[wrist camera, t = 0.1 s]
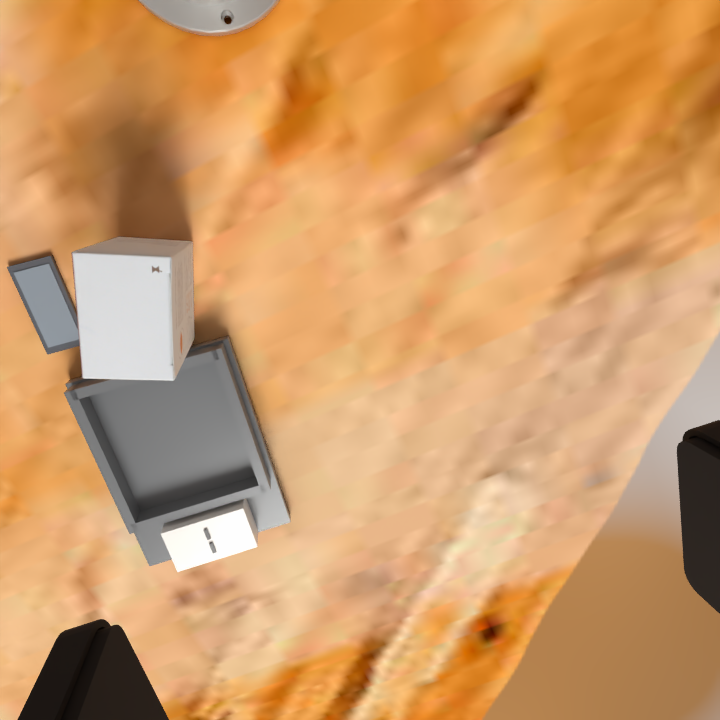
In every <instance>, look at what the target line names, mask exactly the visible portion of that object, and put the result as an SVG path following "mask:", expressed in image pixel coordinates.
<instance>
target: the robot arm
mask: <svg viewBox="0 0 720 720" xmlns="http://www.w3.org/2000/svg"><path fill="white" fill-rule="evenodd" d="M138 1H139V2H140V3H141V4H142V5H143V6H144V7H145V8H146V9H147V10H148V11H149V12H151V13H152V14H154V15H155V16H157V17H158V18H160V19H161V20H162V21H164V22H165V23H167V24H169V25H171V26H174V27H176V28H178V29H180V30H182V31H185V32H189V33H193V34H197V35H202V36H223V35H229V34H234V33H238V32H240V31H242V30H245V29H247V28H250V27H252V26H253V25H255V24H256V23H258V22H259V21H260V20H262V19H263V18H265V17H266V16H267V15H268V14H269V13H270V12H271V10H272V9H273V8H274V7H275V6H276V5H277V4H278V2H279V1H280V0H138ZM225 18H230V19H231V20H232V22H231V24H226V23H225V22H224V20H225ZM677 460H678V477H679V492H680V510H681V526H682V541H683V559H684V570H685V574H686V577H687V579H688V581H689V583H690V585H691V586H692V587H693V589H694V590H695V591H696V592H697V593H698V594H699V595H700V596H701V597H702V598H703V599H704V600H705V601H707V602H708V603H709V604H710V605H711V606H712V607H713V608H714V609H715V610H716V611H717V612H719V613H720V420H718V421H715V422H711V423H708V424H706V425H702V426H699V427H696V428H693V429H690V430H688V431H686V432H685V434H684V436H683V441H682V442H681V443H679V444H678V446H677ZM18 720H169V719H168V717H167V715H166V713H165V711H164V709H163V707H162V705H161V703H160V701H159V699H158V697H157V695H156V693H155V691H154V689H153V687H152V685H151V684H150V682H149V680H148V678H147V676H146V674H145V672H144V670H143V668H142V666H141V664H140V662H139V660H138V658H137V656H136V654H135V652H134V650H133V648H132V646H131V644H130V642H129V640H128V638H127V636H126V634H125V632H124V631H123V629H122V628H121V627H120V626H119V625H113V626H110V624H109V623H108V622H107V621H106V620H104V619H99V620H96V621H93V622H90V623H87V624H84V625H81V626H78V627H75V628H71V629H68V630H65V631H64V632H62V633H61V634H60V635H59V636H58V638H57V639H56V641H55V643H54V645H53V647H52V649H51V652H50V654H49V656H48V658H47V660H46V662H45V664H44V666H43V668H42V670H41V672H40V674H39V676H38V678H37V681H36V683H35V685H34V687H33V689H32V691H31V693H30V695H29V697H28V699H27V701H26V703H25V705H24V708H23V710H22V712H21V714H20V716H19V718H18Z"/></svg>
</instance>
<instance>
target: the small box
mask: <svg viewBox="0 0 720 720" xmlns="http://www.w3.org/2000/svg"><path fill="white" fill-rule="evenodd" d="M72 262H73V275H74V285H75V298H76V309H77V321H78V333H79V345H80V357H81V369H82V378H84V379H121V380H166V381H173V380H175V378H176V376H177V374H178V372H179V370H180V368H181V366H182V364H183V362H184V360H185V357H186V355H187V353H188V351H189V349H190V347H191V345H192V343H193V341H194V339H195V332H194V280H193V242H192V241H181V240H166V239H149V238H134V237H116V238H113V239H110V240H107V241H104V242H100V243H97V244H94V245H91V246H88V247H85V248H82V249H79V250H76V251H74V252H72Z"/></svg>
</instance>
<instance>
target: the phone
mask: <svg viewBox="0 0 720 720" xmlns="http://www.w3.org/2000/svg"><path fill="white" fill-rule="evenodd" d="M7 268H8V271H9V273H10V275H11V277H12V279H13V281H14V284H15V286H16V288H17V290H18V292H19V294H20V296H21V299H22V301H23V303H24V305H25V307H26V309H27V312H28V314H29V316H30V318H31V320H32V322H33V324H34V327H35V329H36V331H37V333H38V335H39V337H40V339H41V342H42V344H43V346H44V348H45V350H46V352H47V354H51V353H55V352H58V351H62V350H66V349H69V348H73V347H77V346H80V345H79V333H78V321H77V311H76V309H75V306H74V304H73V302H72V299H71V297H70V295H69V292H68V290H67V288H66V285H65V283H64V281H63V278H62V276H61V274H60V272H59V269H58V267H57V265H56V262H55V260H54V258H53V255H52V256H48V257H44V258H40V259H36V260H32V261H28V262H25V263H21V264H17V265H13V266H9V267H7Z"/></svg>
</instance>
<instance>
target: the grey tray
mask: <svg viewBox="0 0 720 720" xmlns="http://www.w3.org/2000/svg"><path fill="white" fill-rule="evenodd" d="M66 386H67V390H66V391H65V392H64V394H65V396H66V398H67V400H68V403H69V405H70V407H71V409H72V411H73V413H74V415H75V418H76V420H77V422H78V424H79V426H80V428H81V431H82V433H83V435H84V437H85V439H86V441H87V443H88V446H89V448H90V450H91V452H92V454H93V456H94V458H95V461H96V463H97V465H98V467H99V469H100V471H101V473H102V476H103V478H104V480H105V482H106V484H107V486H108V489H109V491H110V493H111V495H112V497H113V499H114V501H115V504H116V506H117V508H118V510H119V512H120V514H121V516H122V519H123V521H124V523H125V525H126V527H127V529H128V532H129V534H131V533H134V534H135V536H136V538H137V540H138V542H139V545H140V547H141V549H142V551H143V553H144V555H145V558H146V560H147V562H148V564H149V566H152V565H155V564H159V563H162V562H165V561H168V560H171V559H172V560H173V563H174V565H175V567H176V569H177V572H179V571H182V570H185V569H189V568H192V567H195V566H198V565H201V564H204V563H208V562H211V561H214V560H217V559H220V558H223V557H227V556H230V555H233V554H236V553H239V552H242V551H246V550H249V549H252V548H255V547H257V546H258V532H261V531H264V530H267V529H270V528H273V527H277V526H280V525H283V524H286V523H289V522H291V520H290V514H289V511H288V508H287V505H286V502H285V499H284V496H283V493H282V490H281V487H280V485H279V482H278V479H277V476H276V473H275V470H274V467H273V464H272V461H271V458H270V455H269V452H268V449H267V447H266V444H265V441H264V438H263V435H262V432H261V429H260V426H259V423H258V420H257V417H256V414H255V411H254V408H253V406H252V403H251V400H250V397H249V394H248V391H247V388H246V385H245V382H244V379H243V376H242V373H241V370H240V368H239V365H238V362H237V359H236V356H235V353H234V350H233V347H232V344H231V341H230V338H229V336H225V337H221V338H218V339H214V340H211V341H207V342H204V343H200V344H197V345H193V346H191V347H190V349H189V351H188V353H187V355H186V357H185V360H184V362H183V364H182V366H181V368H180V370H179V372H178V374H177V376H176V378H175V380H173V381H166V380H121V379H84V378H82V377H79V378H75V379H72V380H69V381H68V382H67V383H66Z"/></svg>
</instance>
